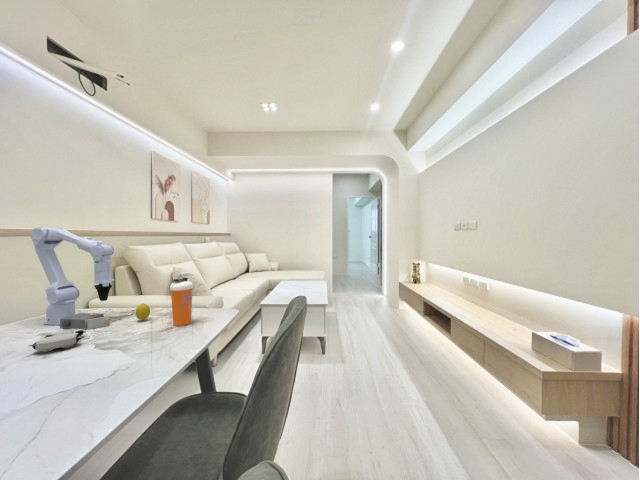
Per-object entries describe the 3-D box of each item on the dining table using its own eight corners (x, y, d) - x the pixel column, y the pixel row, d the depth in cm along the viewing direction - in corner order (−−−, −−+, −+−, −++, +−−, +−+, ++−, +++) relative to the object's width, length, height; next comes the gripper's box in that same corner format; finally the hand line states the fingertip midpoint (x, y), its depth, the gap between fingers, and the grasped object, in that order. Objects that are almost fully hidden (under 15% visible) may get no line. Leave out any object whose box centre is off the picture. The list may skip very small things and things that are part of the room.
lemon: (137, 319, 116) (136, 302, 116) (151, 318, 119) (151, 301, 118) (134, 323, 111) (133, 305, 111) (149, 321, 114) (148, 304, 113)
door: (85, 328, 105) (85, 319, 105) (109, 324, 109) (109, 316, 109) (84, 329, 104) (84, 320, 104) (109, 325, 108) (108, 317, 108)
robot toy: (43, 345, 91) (26, 358, 79) (43, 332, 92) (26, 343, 79) (88, 337, 98) (79, 348, 86) (88, 325, 99) (79, 335, 86)
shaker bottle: (165, 325, 108) (164, 279, 107) (182, 319, 116) (181, 276, 116) (182, 328, 105) (181, 280, 105) (198, 321, 114) (197, 277, 113)
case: (57, 329, 105) (57, 318, 105) (80, 321, 114) (80, 311, 114) (83, 329, 104) (82, 318, 104) (103, 322, 113) (103, 312, 113)
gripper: (117, 271, 112) (117, 301, 112) (111, 268, 121) (111, 296, 121) (96, 272, 106) (96, 304, 107) (91, 270, 116) (92, 299, 116)
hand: (103, 300), depth 114 cm, fingers closed
